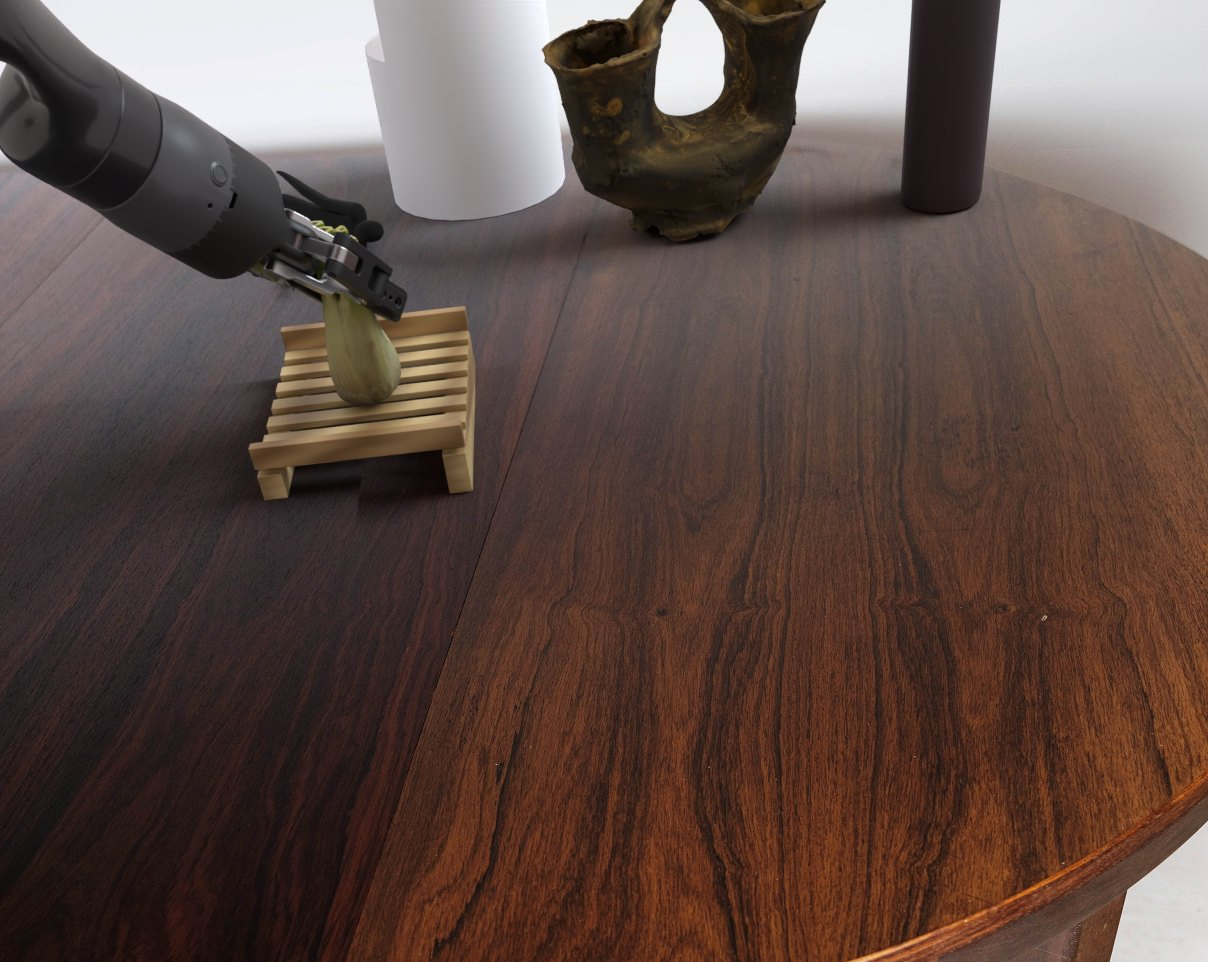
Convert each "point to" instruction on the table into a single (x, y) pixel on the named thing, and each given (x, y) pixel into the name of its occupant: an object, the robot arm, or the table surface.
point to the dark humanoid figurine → (332, 211)
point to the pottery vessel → (689, 142)
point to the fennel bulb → (357, 346)
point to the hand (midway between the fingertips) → (366, 299)
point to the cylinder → (466, 105)
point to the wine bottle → (948, 102)
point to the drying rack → (376, 438)
